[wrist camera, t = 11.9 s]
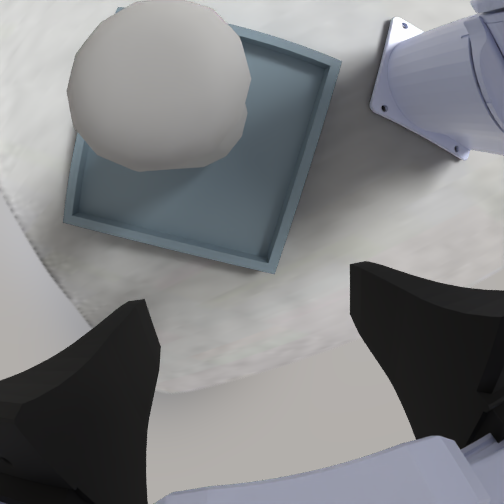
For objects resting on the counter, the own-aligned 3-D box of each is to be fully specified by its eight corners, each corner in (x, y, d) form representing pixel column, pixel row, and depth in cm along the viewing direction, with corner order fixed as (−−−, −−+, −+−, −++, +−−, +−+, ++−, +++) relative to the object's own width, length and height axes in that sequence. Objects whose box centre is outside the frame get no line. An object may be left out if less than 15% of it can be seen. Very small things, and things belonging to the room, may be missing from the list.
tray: (333, 65, 17) (341, 61, 16) (270, 265, 22) (274, 274, 20) (124, 15, 15) (117, 7, 13) (72, 216, 19) (63, 222, 18)
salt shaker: (202, 183, 19) (172, 268, 7) (128, 130, 17) (-11, 129, 5) (263, 108, 18) (346, 55, 5) (187, 53, 16) (141, -70, 4)
